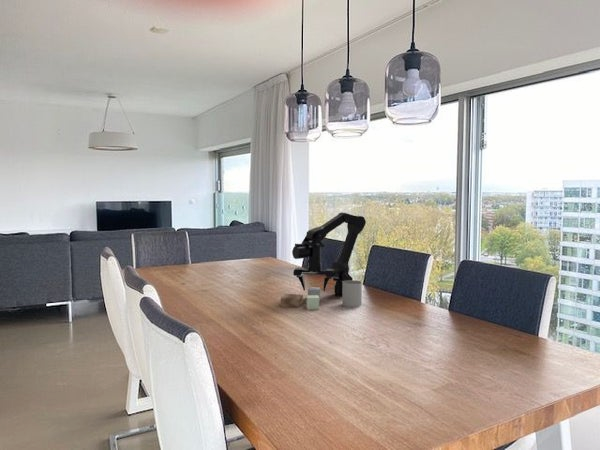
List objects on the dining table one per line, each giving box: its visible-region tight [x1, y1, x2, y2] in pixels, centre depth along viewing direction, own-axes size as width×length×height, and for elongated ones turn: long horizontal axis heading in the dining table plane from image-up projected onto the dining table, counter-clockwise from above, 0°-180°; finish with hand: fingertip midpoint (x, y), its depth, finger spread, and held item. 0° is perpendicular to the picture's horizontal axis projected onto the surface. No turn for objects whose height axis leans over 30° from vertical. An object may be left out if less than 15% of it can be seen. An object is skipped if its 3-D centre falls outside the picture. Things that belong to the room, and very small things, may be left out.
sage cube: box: [305, 294, 320, 310], centre depth 201 cm, size 5×5×5 cm
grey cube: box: [307, 286, 321, 300], centre depth 217 cm, size 5×5×5 cm
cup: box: [341, 279, 363, 308], centre depth 206 cm, size 8×8×10 cm
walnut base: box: [280, 293, 304, 308], centre depth 206 cm, size 8×8×4 cm
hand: (314, 290), depth 216 cm, fingers open, 9 cm apart
